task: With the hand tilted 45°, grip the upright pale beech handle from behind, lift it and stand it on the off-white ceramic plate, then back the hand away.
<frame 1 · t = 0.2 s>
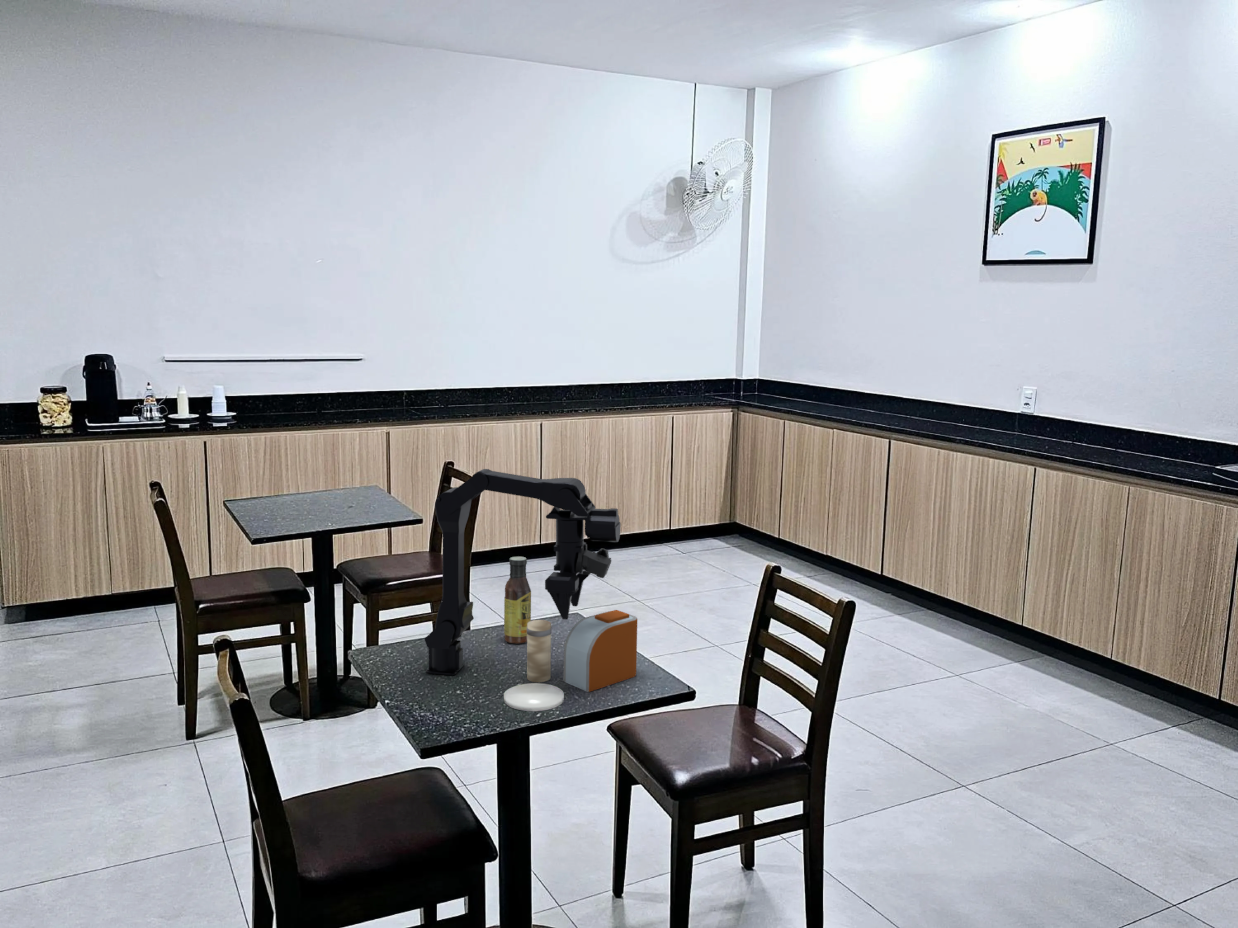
hand: (570, 612, 210), 15 cm above the table, tool pointing down, fingers open, 9 cm apart
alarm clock: (601, 678, 214), on the table
beech handle: (538, 677, 213), on the table
ceramic plate: (533, 699, 202), on the table
sauce bottle: (517, 641, 236), on the table
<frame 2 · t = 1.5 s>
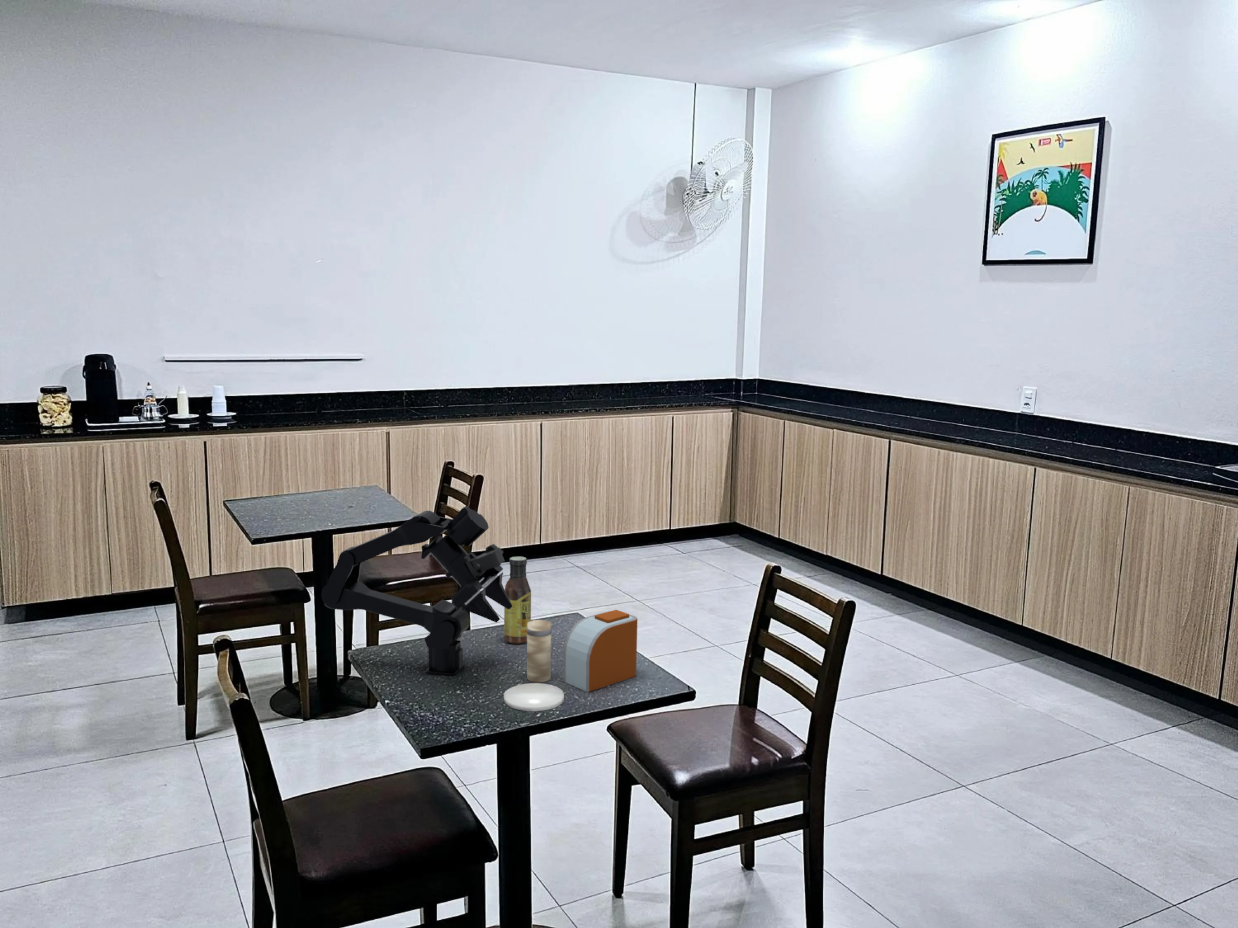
hand: (504, 614, 212), 13 cm above the table, tool tilted 45°, fingers open, 9 cm apart
nothing on the table moved.
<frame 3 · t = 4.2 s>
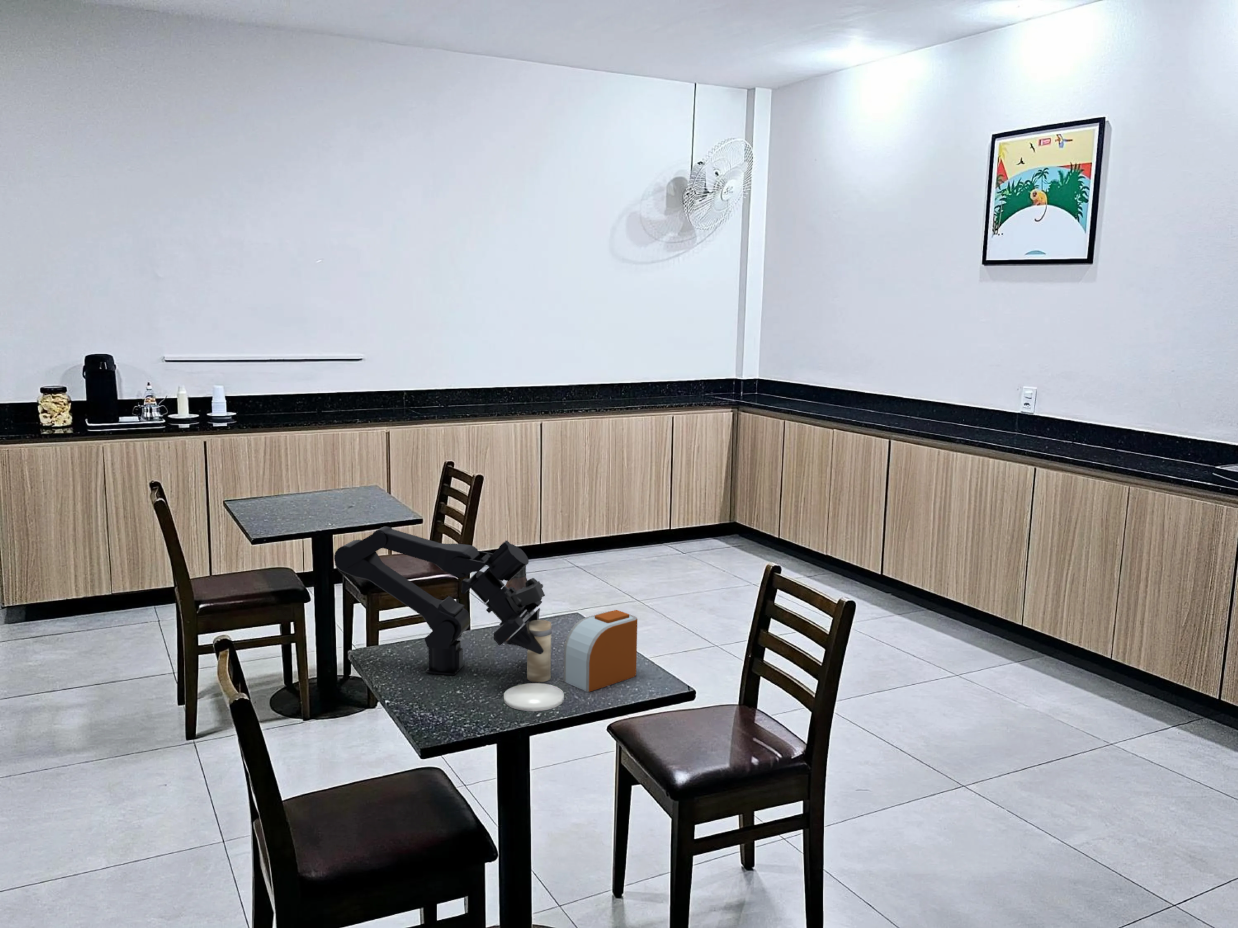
hand: (545, 648, 212), 7 cm above the table, tool tilted 45°, fingers closed on beech handle, 5 cm apart
beech handle: (538, 677, 213), on the table, touching gripper
everything else where it was.
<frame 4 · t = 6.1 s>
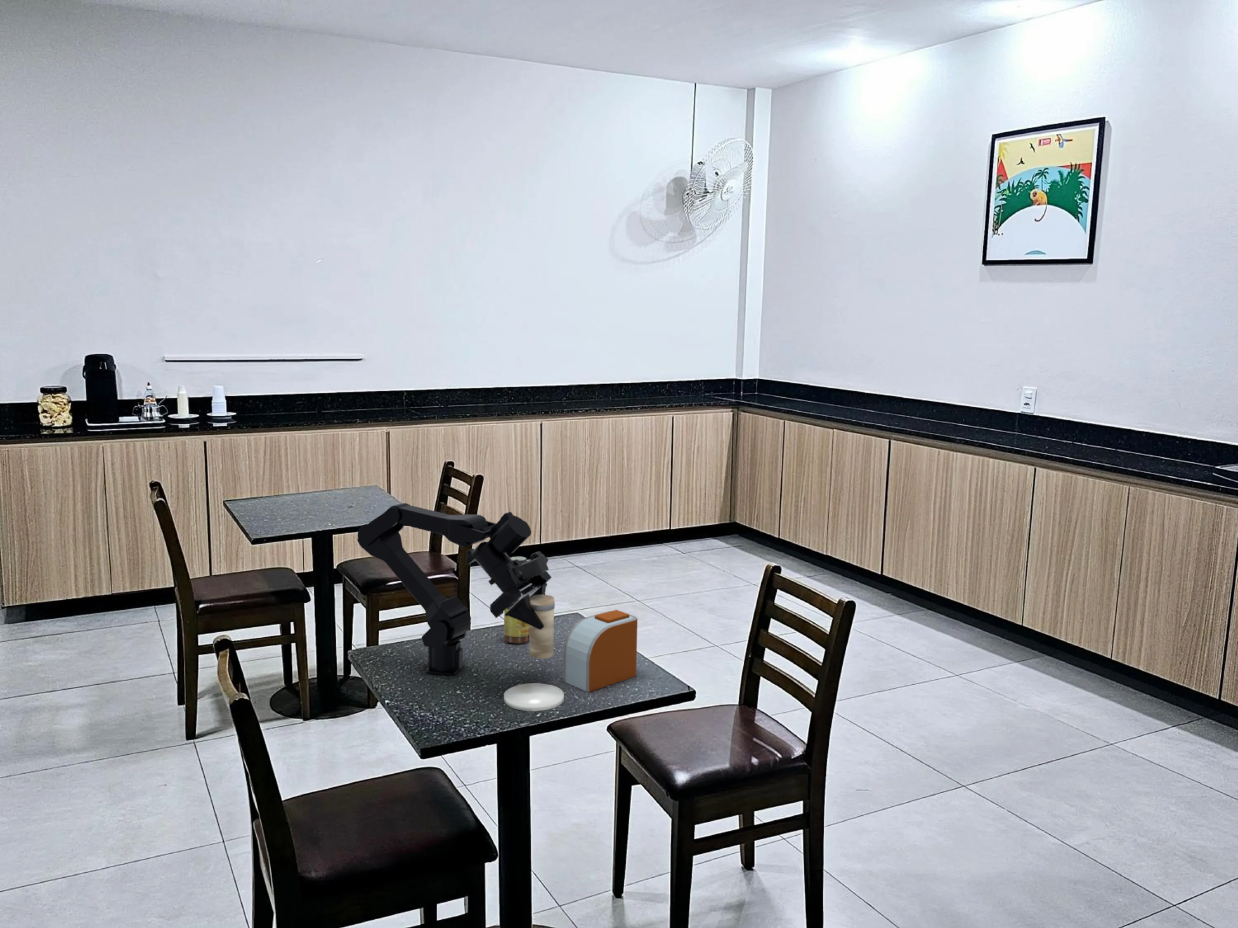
hand: (547, 624, 205), 14 cm above the table, tool tilted 45°, fingers closed on beech handle, 5 cm apart
beech handle: (541, 654, 207), point 7 cm above the table, touching gripper
everything else where it was.
when the fingers open (9 cm above the table, at t = 8.0 s): beech handle drops 1 cm, resting on ceramic plate.
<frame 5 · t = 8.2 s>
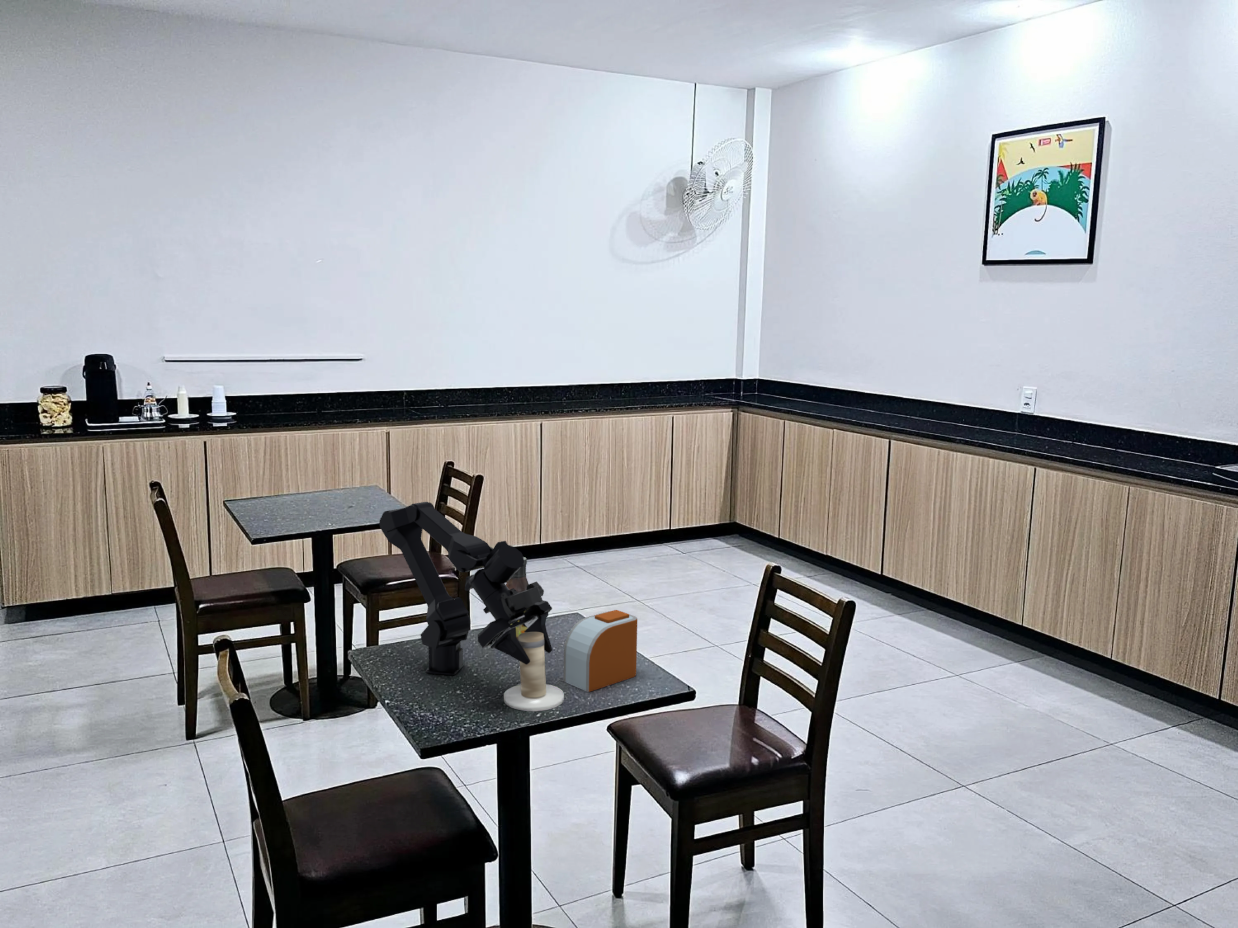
hand: (539, 657, 199), 9 cm above the table, tool tilted 45°, fingers open, 7 cm apart
beech handle: (533, 693, 201), point 1 cm above the table, touching ceramic plate
everything else where it was.
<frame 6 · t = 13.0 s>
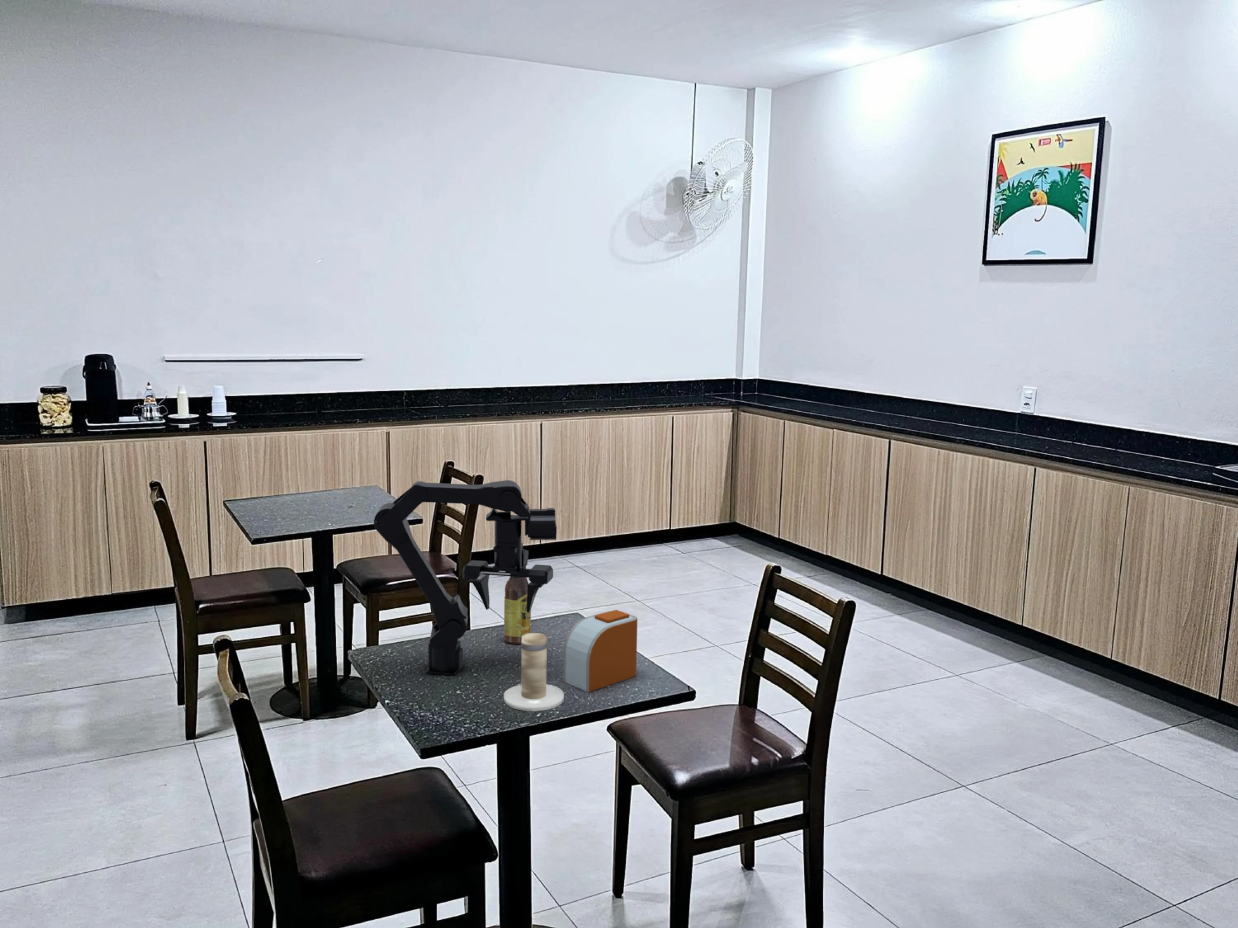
hand: (508, 610, 216), 13 cm above the table, tool pointing down, fingers open, 9 cm apart
at the end: beech handle inside the target area on the ceramic plate (0.0 cm from its centre), point 1.0 cm above the ceramic plate's base; beech handle tilted 0°; the gripper is holding nothing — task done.
